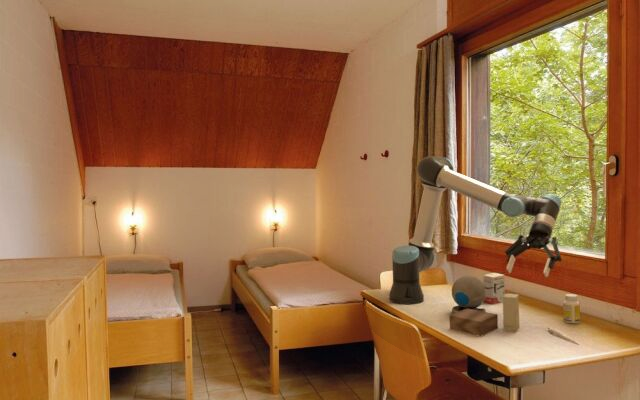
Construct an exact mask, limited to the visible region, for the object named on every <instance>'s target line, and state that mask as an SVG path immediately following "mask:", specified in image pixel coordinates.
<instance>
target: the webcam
mask: <svg viewBox="0 0 640 400" xmlns="http://www.w3.org/2000/svg"><path fill="white" fill-rule="evenodd" d="M451 297H452V299H453V301H454V302H455V304H456V305H455V306H453V307H452V309H451V313H452V314H454V313H457V312H459V311H462V310H464V309H467V308H468V309H473V310H478V311H483V312H487V310H486V309H485V307H482V308H481V307H480V306H481V305H482V304H483V303H485V302H484V300H485V297H486V290H485V287H484V282H482V281H481V280H480V279H479V278H478V277H475V276H473V275H464V276H460V277H458V278H457V279H456V280H455V281H454V282H453V284H452V287H451ZM479 307H480V308H479Z"/></svg>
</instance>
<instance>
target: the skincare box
mask: <svg viewBox="0 0 640 400" xmlns="http://www.w3.org/2000/svg"><path fill="white" fill-rule="evenodd" d="M519 301H520V299H519V294H517V293H510V292H509V293H508V292H507V293H506V292H505V295H504V296H503V302H502V315H503V316H502V317H503V331H504V332H505V331H506V332H510V333H517V332H518V331H519V329H520V304H519V303H520V302H519Z"/></svg>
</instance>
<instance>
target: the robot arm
mask: <svg viewBox="0 0 640 400" xmlns="http://www.w3.org/2000/svg"><path fill="white" fill-rule="evenodd" d="M416 173H417V176H418V177H419V179H420V180H421V186H422V187H423V191H422V195H421V201H420V205H419V210H418V214H417V219H416V224H415V229H414V233H413V237H412V238H411V239H409V240H408V245H403V246H402V245H401V246H398V247H395V248H394V249H393V251H392V254H391V255H392V256H391V261H392V264H391V265H392V285H391V287H390V292H389V295H388V296H389V298H388V299H389V301H390V302H392V303H393V304H394V303H395V304H400V305H402V304H403V305H414V304H420V303H422V302H424V300H425V299H424V297H425V295H424V293H423V289H422V286H421V284H420V273H421V272H424V271H426V270H428V269H429V268H431V267H432V265H433V264H434V263H435V258H436V255H435V251H434V248H435V244H434V243H433V237H434V233H435V230H436V223H437V220H438V215H439V210H440V206H441V200H442V197H443V193H444V192H445V191H446V190H450V191H452V192H455V193H456V194H457V193H458V194H460V195H462V196H465V197H467V198H470V199H472V200H474V201H477V202H479V203H481V204H483V205H486V206H488V207H491V208H492V209H495V210H498V211H499V212H501V213H503V214H504V215H505V216H507V217H509V218H517V217H520V216H522V215H523V216H524V215H525V216H526V215H527V216H532V217H534V218H533V221H532V225H531V226H530V229H529V232H528V236H523V234H521V235H519V236H518V238H517V239H516V240H515V241H514V242H513V243H512V244H511V245H510V246H509V247H508V248H507V249H506V250H505V251H504V252H505V255H506V257H507V260H506V264H507V265H506V268H505V269H506V271H507V273H508V274H511V273H512V270H513V268H514V264H515V262H516V259H517V258H516V257H518V256H520V255H521V254H522V253H524V252H526V251H527V250H530V249H534V250H535V249H537V250H541V249H543V251H544V252H545V253H546V254H547V256H548V257H547V259H546V263H545V266H544V268H543V275H544V277H545V278H548V277H549V273H550V270H552V269H554V268H555V264H556V262H562V257H561V253H560V250H559V247H558V243H559V241H558V239H557V237H556V236H553V237H552V238H551V236H552V234H553V230H554V227H555V224H556V221H557V218H558V216H559V213H560V211H561V209H560V208H561V205H562V200H561V198H560V197H559V196H558V195H556V194H553V193H548V194H547V193H546V194H543V195H542V197H533V196H529V195H527V196H526V195H522V194H519V193H518V194H514V193H508V192H506V191H503V190H501V189H498V188H496V187H493V186H491V185H489V184H486V183H484V182H481V181H479V180H476V179H474V178H471V177H469V176H466V175H464V174H462V173H459V172H457V171H455V167H454V164H453V163H452V161H451V160H450V159H449V158H447V157H443V156H439V155H438V156H434V155H433V156H432V155H431V156H430V155H428V156H426V157H423V158H422V159H420V161H418V163H417V166H416ZM549 243H550V245H552V247H553V250H554V254H555V255H554V254H553V252H552V251H551V250H550V248H549V247H548V246H547V245H549Z"/></svg>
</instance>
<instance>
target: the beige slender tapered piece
mask: <svg viewBox="0 0 640 400" xmlns="http://www.w3.org/2000/svg"><path fill="white" fill-rule="evenodd" d="M546 327H547V329H549V332H550V333H551V334H553V336H555V337H559V338H561V339H563V340H567V341H568V342H570V343H573V344H575V345H580V344H579V342H578V341H576V340H575V339H573V338H571V337H570V336H569V335H567V334H565V333H564V332H563V331H562V330H561V329H556V328H553V327H551V326H549V325H548V326H546Z"/></svg>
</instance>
